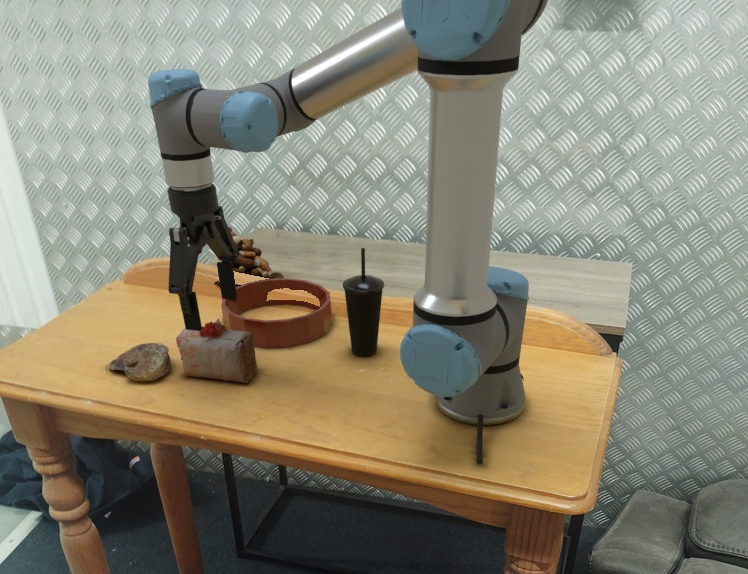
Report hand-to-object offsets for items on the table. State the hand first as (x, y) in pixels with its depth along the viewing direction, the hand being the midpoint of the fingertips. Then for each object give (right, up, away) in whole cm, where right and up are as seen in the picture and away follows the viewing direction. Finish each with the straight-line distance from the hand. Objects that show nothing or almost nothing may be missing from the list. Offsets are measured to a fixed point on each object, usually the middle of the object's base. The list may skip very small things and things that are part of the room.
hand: (212, 313), depth 125 cm
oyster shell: (-15, -8, +9) cm, 20 cm away
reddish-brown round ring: (+8, +4, +24) cm, 26 cm away
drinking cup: (+26, -4, +14) cm, 30 cm away
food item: (0, -9, +8) cm, 12 cm away
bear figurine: (-1, +19, +43) cm, 47 cm away
